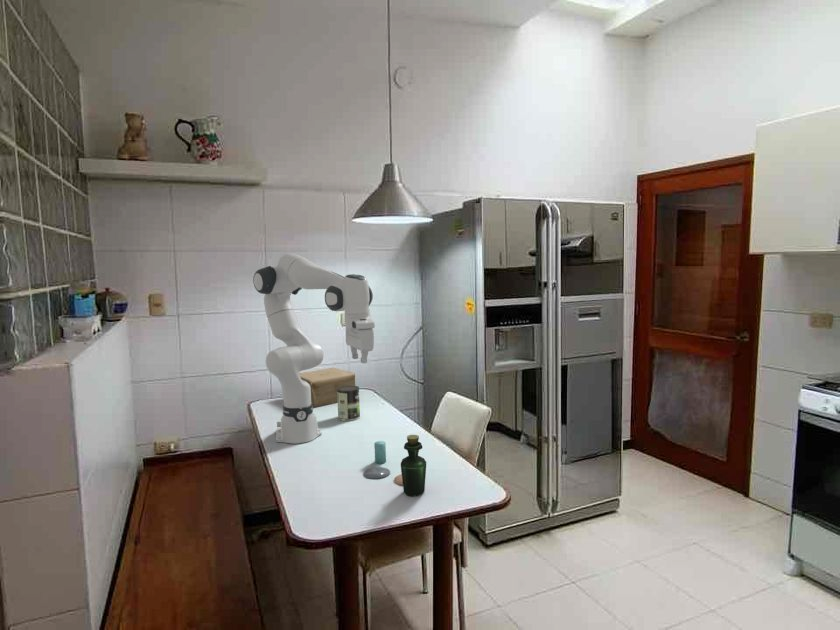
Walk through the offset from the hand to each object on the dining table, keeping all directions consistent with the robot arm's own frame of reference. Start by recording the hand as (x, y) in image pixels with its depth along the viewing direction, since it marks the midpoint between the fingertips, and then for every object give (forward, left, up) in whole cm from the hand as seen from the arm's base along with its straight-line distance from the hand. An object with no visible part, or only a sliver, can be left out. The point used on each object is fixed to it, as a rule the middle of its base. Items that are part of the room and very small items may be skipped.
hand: (359, 360), depth 181 cm
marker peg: (0, +7, -38) cm, 39 cm away
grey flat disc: (+9, +2, -38) cm, 39 cm away
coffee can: (-56, +14, -38) cm, 69 cm away
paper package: (-95, +13, -38) cm, 103 cm away
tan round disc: (+19, +9, -38) cm, 43 cm away
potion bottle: (+28, +7, -38) cm, 48 cm away
